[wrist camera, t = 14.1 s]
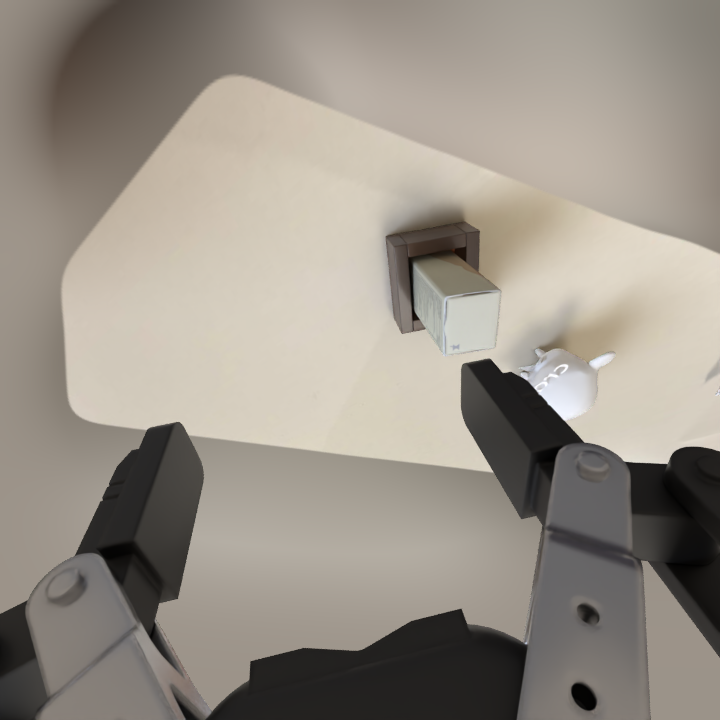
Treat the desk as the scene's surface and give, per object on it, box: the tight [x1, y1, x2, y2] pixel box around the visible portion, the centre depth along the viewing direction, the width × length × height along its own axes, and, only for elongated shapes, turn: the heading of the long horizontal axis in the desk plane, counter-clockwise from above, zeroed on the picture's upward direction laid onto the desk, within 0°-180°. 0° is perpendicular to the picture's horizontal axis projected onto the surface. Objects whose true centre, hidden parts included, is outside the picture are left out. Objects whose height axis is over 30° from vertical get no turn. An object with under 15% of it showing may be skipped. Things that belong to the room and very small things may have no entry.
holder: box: [386, 222, 480, 334], centre depth 37 cm, size 8×9×3 cm
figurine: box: [520, 348, 616, 421], centre depth 44 cm, size 12×8×10 cm
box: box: [408, 250, 501, 356], centre depth 34 cm, size 5×4×11 cm
